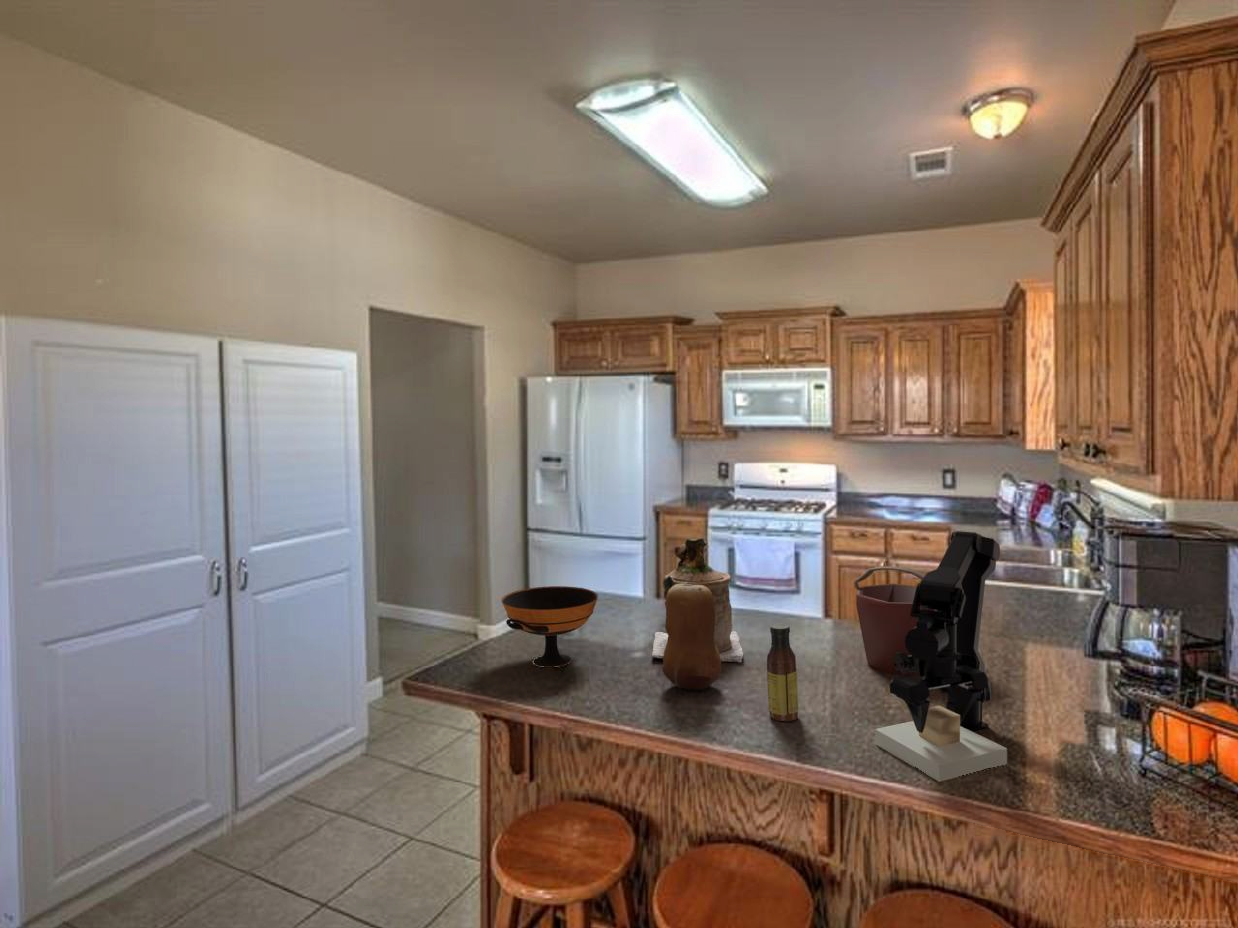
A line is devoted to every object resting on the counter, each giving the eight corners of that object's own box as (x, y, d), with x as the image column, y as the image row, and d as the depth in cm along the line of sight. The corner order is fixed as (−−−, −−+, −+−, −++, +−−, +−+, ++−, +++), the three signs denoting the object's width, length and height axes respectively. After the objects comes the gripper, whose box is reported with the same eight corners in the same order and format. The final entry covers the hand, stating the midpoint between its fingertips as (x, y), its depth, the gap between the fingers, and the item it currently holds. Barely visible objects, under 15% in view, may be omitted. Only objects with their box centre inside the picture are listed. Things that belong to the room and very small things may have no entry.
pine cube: (939, 730, 137) (939, 705, 137) (959, 741, 133) (960, 715, 132) (918, 735, 136) (918, 709, 135) (939, 746, 131) (939, 719, 131)
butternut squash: (704, 674, 179) (703, 576, 178) (731, 692, 167) (730, 587, 165) (653, 682, 174) (652, 581, 173) (677, 702, 162) (676, 593, 160)
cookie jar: (738, 636, 211) (737, 529, 209) (745, 664, 186) (744, 543, 184) (654, 635, 213) (653, 529, 211) (650, 663, 189) (648, 543, 187)
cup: (560, 692, 169) (558, 618, 168) (471, 678, 180) (469, 609, 179) (622, 647, 202) (621, 586, 201) (544, 638, 212) (543, 579, 211)
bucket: (835, 657, 190) (835, 564, 189) (894, 644, 200) (894, 556, 199) (910, 686, 168) (911, 582, 167) (972, 670, 178) (973, 571, 177)
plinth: (938, 729, 145) (938, 715, 145) (1006, 764, 130) (1007, 748, 130) (875, 743, 139) (875, 728, 139) (939, 781, 124) (939, 764, 124)
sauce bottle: (793, 710, 156) (793, 620, 155) (802, 722, 149) (801, 629, 148) (764, 711, 156) (763, 621, 154) (771, 723, 149) (770, 630, 148)
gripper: (943, 628, 144) (943, 704, 145) (869, 640, 137) (869, 719, 138) (990, 644, 134) (989, 725, 135) (912, 657, 127) (912, 743, 128)
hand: (938, 727), depth 134 cm, fingers open, 9 cm apart
